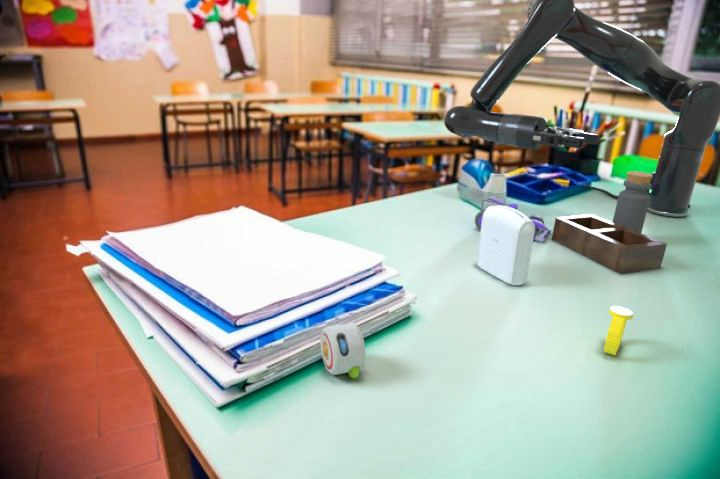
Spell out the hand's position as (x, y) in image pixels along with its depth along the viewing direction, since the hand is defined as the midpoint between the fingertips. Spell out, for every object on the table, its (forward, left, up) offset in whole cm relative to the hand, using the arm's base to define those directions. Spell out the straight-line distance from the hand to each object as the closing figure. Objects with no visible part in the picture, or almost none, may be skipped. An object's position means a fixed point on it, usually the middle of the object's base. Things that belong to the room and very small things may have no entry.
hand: (591, 141), depth 107 cm
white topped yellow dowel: (+42, -32, -20) cm, 57 cm away
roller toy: (+35, -68, -20) cm, 79 cm away
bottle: (+10, +5, -20) cm, 23 cm away
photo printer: (+17, -32, -20) cm, 42 cm away
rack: (+14, -5, -20) cm, 25 cm away
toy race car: (-2, -15, -20) cm, 25 cm away
